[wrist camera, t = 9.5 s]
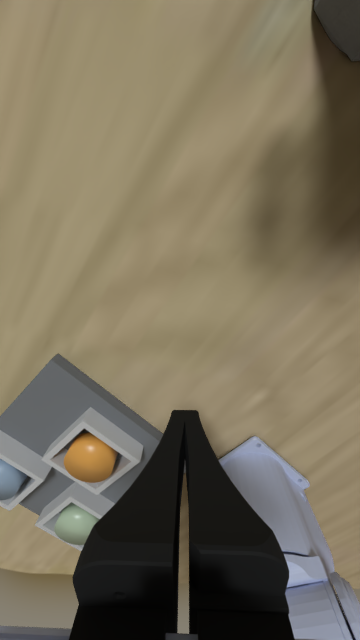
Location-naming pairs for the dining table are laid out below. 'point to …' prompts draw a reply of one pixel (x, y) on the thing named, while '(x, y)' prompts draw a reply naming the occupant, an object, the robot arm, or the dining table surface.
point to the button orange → (90, 459)
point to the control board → (57, 436)
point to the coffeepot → (341, 24)
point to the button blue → (9, 480)
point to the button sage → (74, 524)
